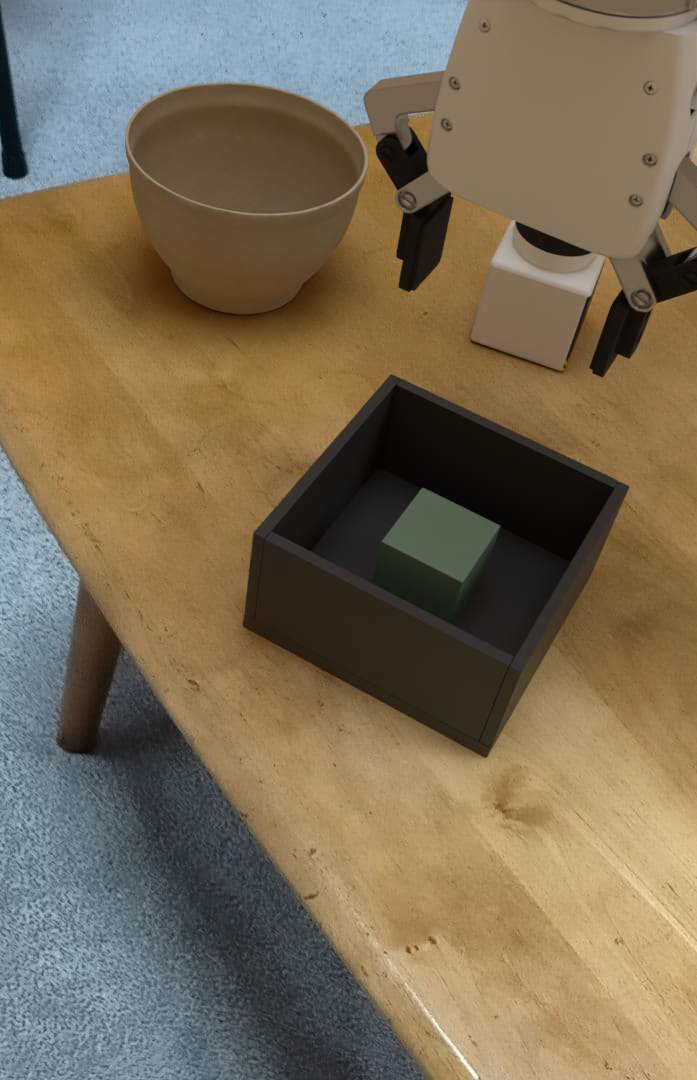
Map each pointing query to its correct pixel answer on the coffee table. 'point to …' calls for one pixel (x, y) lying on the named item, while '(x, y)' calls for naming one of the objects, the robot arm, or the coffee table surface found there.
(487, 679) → the basket
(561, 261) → the medicine bottle
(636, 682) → the coffee table surface
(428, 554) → the box
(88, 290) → the coffee table surface
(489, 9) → the robot arm
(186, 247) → the planter bowl
